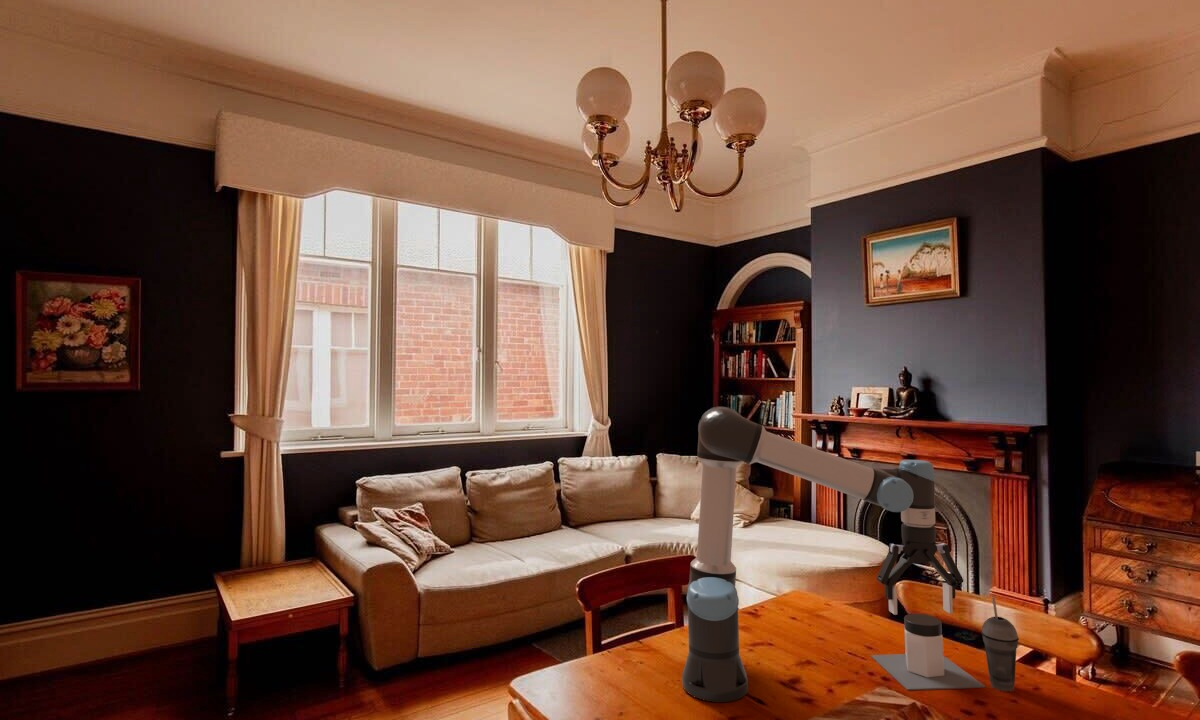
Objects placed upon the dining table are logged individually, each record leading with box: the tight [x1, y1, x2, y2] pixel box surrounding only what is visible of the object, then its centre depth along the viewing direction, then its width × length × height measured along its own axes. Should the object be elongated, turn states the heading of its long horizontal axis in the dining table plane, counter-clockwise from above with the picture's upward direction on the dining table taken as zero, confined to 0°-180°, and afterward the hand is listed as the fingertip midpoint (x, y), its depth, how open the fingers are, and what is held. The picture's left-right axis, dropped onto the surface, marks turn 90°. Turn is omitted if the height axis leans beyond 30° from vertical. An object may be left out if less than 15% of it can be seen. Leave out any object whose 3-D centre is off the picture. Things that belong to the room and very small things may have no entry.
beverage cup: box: [981, 595, 1019, 692], centre depth 143 cm, size 7×7×20 cm
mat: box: [870, 653, 986, 691], centre depth 151 cm, size 18×18×1 cm
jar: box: [903, 613, 945, 678], centre depth 152 cm, size 9×8×12 cm
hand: (920, 612), depth 152 cm, fingers open, 13 cm apart
